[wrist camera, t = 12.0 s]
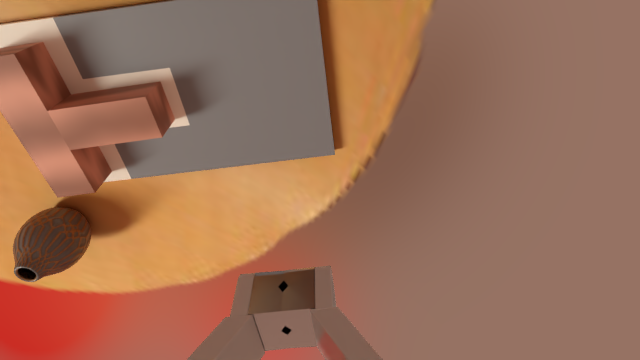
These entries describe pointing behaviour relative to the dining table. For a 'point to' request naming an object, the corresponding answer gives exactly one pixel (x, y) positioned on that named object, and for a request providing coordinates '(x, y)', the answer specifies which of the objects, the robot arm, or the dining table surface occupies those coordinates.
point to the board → (200, 78)
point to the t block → (73, 118)
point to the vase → (50, 243)
